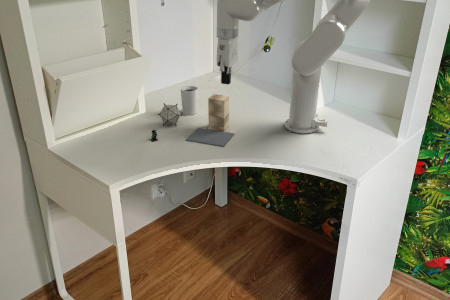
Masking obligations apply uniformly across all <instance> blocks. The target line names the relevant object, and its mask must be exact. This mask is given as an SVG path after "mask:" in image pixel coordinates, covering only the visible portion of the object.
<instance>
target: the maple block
mask: <svg viewBox="0 0 450 300" xmlns="http://www.w3.org/2000/svg"><path fill="white" fill-rule="evenodd" d="M207 102H208V103H207V108H208V110H207V111H208V113H207V114H208V118H207V119H208V129H210V130H217V131H223V132H227V130H228V129H229V128H230V125H229V124H230V95H225V94H224V95H223V94H218V93H217V94H215V93H213V94H212V95H210V96H209V97H208V98H207Z"/></svg>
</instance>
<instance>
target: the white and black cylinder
mask: <svg viewBox="0 0 450 300" xmlns="http://www.w3.org/2000/svg"><path fill="white" fill-rule="evenodd" d="M198 89H199V88H198V87H197V86H194V85H184V86H182V87H180V98H181V107H182V108H181V110H182V115H184V116H194V115H197V114H198V101H199V99H198V95H199V90H198Z"/></svg>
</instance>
